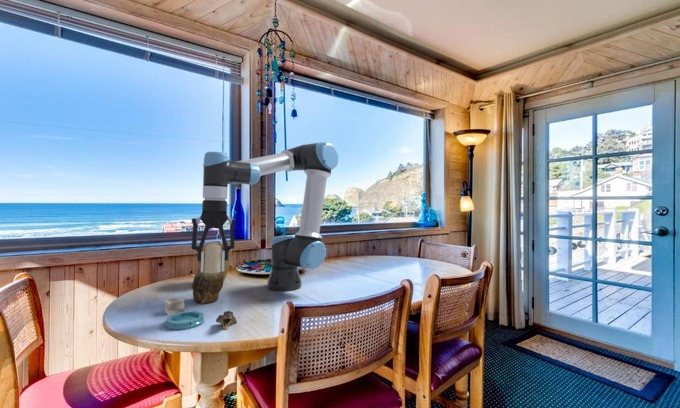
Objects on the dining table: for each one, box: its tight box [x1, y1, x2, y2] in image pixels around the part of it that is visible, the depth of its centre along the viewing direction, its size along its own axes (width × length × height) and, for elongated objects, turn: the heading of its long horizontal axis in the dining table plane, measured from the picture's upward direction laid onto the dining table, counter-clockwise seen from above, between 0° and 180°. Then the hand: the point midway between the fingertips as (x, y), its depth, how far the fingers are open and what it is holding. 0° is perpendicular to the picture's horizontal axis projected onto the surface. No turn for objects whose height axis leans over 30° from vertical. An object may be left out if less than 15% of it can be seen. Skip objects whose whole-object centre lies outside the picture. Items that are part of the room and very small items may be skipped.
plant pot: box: [198, 246, 233, 283], centre depth 149 cm, size 15×15×16 cm
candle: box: [204, 240, 224, 273], centre depth 107 cm, size 6×6×10 cm
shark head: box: [215, 310, 238, 331], centre depth 100 cm, size 8×6×7 cm
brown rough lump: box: [191, 270, 224, 304], centre depth 125 cm, size 11×11×12 cm
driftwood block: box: [164, 297, 185, 316], centre depth 113 cm, size 5×5×4 cm
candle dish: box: [164, 310, 205, 331], centre depth 103 cm, size 11×11×2 cm
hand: (212, 270), depth 107 cm, fingers closed on candle, 5 cm apart
